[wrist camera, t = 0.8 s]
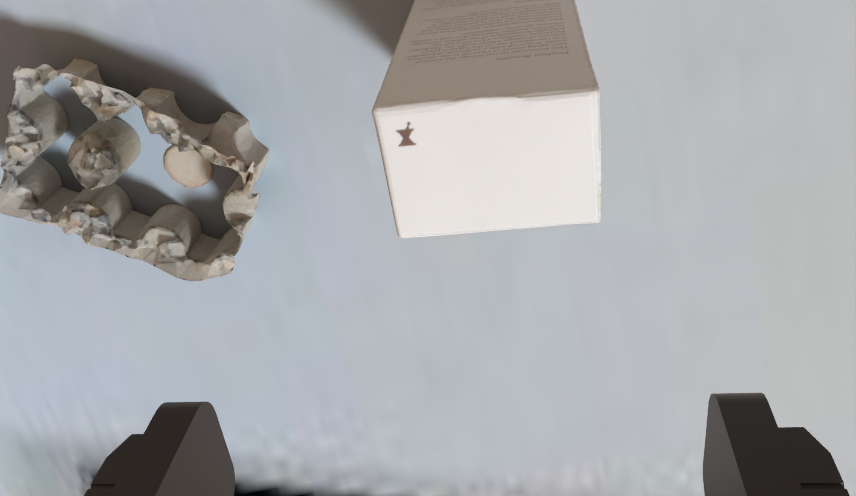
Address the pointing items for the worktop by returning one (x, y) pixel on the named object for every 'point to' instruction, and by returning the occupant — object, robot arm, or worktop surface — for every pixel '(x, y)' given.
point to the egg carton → (111, 156)
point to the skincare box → (490, 118)
